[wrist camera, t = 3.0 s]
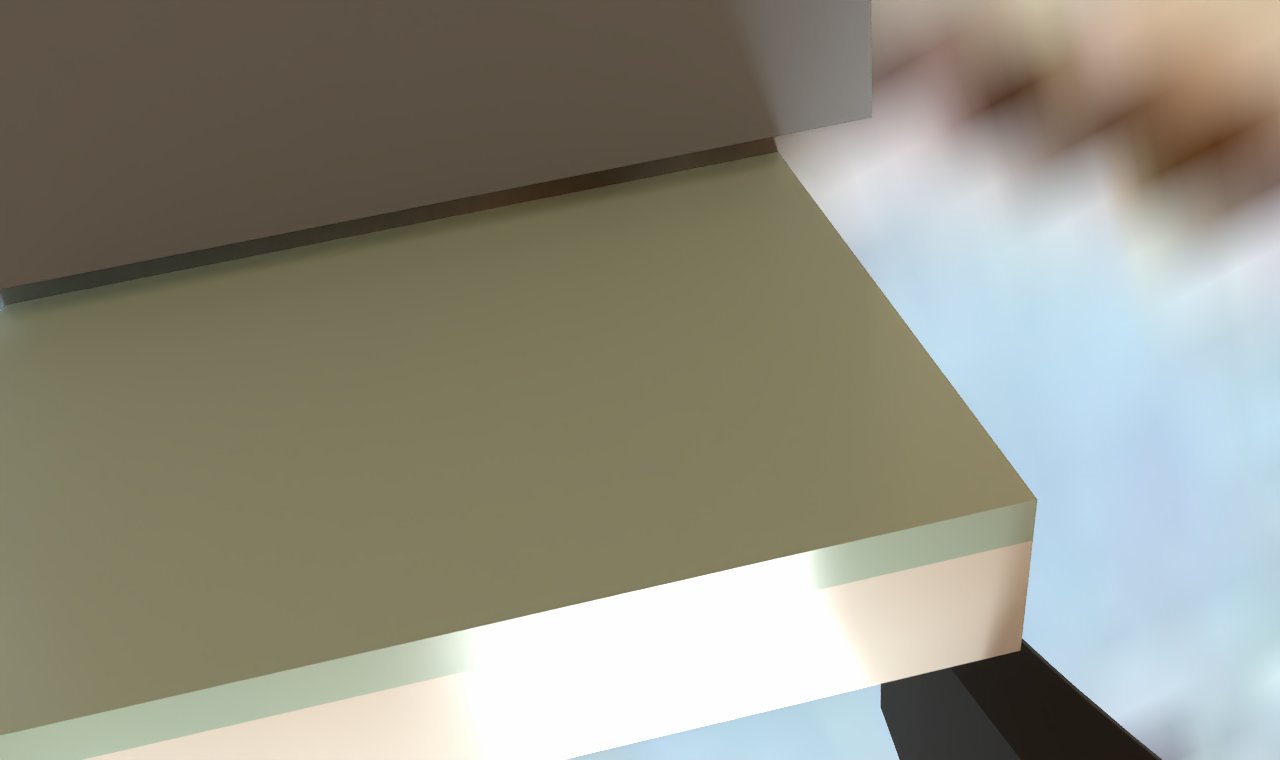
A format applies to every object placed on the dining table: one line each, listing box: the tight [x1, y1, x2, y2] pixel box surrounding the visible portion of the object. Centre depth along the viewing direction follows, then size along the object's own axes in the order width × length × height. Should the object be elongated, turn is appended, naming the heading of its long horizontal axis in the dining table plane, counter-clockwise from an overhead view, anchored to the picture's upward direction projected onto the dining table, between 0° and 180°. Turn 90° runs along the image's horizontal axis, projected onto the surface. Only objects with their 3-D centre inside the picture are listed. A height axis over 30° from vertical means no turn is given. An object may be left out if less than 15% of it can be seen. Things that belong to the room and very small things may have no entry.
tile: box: [0, 152, 1037, 760], centre depth 10 cm, size 9×2×6 cm, turn 97°
